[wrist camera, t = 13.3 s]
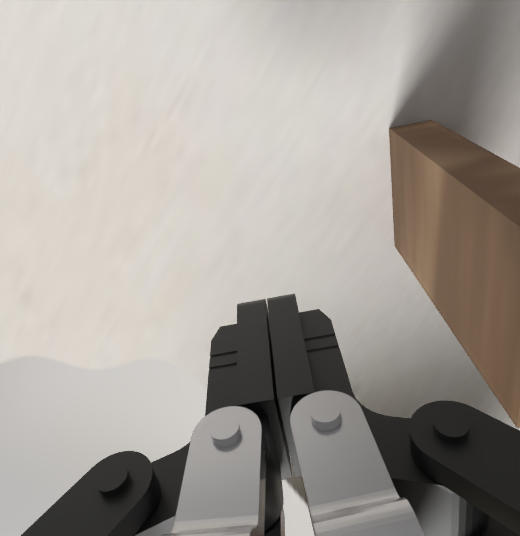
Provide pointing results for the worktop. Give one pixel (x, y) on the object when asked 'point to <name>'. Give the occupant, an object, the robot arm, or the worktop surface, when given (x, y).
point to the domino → (463, 244)
